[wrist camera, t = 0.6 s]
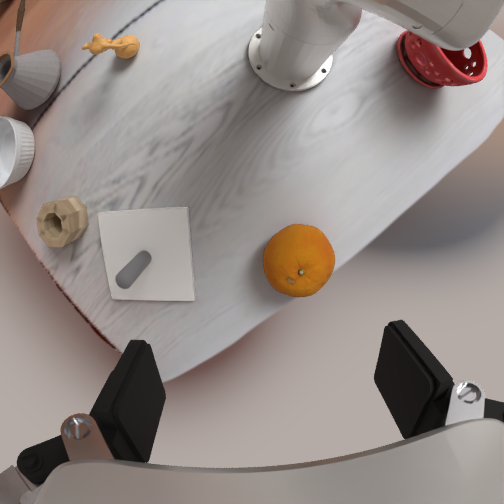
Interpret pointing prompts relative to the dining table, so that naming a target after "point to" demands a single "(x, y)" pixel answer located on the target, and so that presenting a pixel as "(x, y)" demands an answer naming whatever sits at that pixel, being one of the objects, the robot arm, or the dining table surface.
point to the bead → (62, 221)
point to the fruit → (298, 260)
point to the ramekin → (15, 150)
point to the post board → (158, 243)
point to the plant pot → (440, 62)
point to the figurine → (114, 45)
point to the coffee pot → (28, 72)
